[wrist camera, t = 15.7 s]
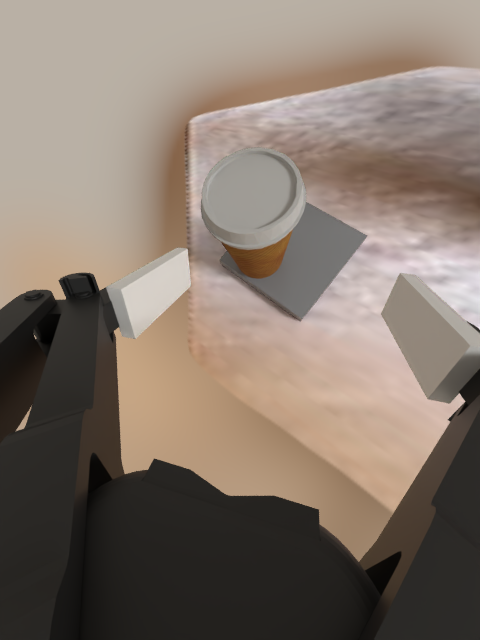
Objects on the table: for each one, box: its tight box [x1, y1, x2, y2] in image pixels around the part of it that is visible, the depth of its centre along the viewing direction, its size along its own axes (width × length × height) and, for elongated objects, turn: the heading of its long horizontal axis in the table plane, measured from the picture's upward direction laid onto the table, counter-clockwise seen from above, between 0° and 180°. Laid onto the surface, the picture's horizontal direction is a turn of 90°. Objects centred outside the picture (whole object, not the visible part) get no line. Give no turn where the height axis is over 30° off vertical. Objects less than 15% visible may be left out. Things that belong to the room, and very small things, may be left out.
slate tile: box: [220, 202, 367, 321], centre depth 31 cm, size 14×14×2 cm
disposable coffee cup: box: [201, 147, 306, 279], centre depth 24 cm, size 10×10×12 cm
